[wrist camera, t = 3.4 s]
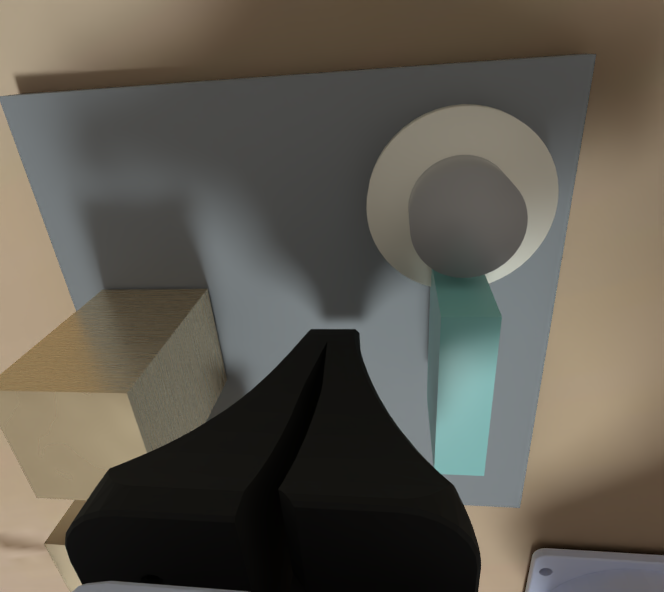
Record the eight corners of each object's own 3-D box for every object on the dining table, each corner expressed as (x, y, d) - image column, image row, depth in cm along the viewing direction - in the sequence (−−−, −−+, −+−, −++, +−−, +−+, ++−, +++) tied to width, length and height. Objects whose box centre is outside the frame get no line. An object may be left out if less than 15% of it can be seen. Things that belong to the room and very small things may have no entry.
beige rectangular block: (251, 496, 19) (207, 633, 14) (168, 492, 19) (101, 623, 15) (207, 288, 15) (126, 393, 10) (102, 289, 15) (-19, 389, 11)
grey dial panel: (515, 489, 18) (562, 662, 13) (149, 473, 20) (67, 617, 15) (583, 53, 11) (739, 58, 6) (19, 94, 13) (-214, 123, 8)
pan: (521, 392, 14) (553, 478, 11) (374, 390, 15) (369, 471, 12) (564, 98, 10) (627, 117, 8) (364, 109, 11) (354, 131, 8)
